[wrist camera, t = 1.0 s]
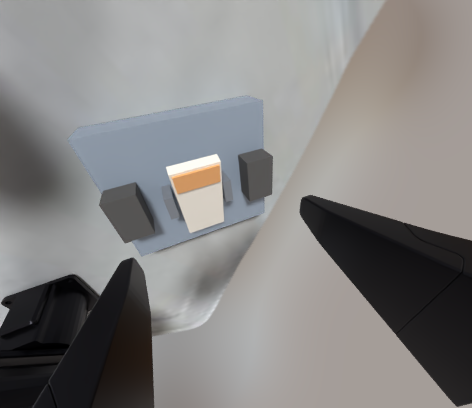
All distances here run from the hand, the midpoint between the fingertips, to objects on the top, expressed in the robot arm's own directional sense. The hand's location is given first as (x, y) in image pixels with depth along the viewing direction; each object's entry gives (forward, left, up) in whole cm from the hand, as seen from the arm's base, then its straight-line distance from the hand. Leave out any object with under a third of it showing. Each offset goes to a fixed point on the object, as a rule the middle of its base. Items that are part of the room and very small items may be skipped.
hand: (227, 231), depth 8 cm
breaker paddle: (-4, 0, -8) cm, 9 cm away
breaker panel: (-4, 0, -13) cm, 14 cm away
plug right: (-4, -6, -10) cm, 12 cm away
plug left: (-4, +6, -10) cm, 12 cm away
